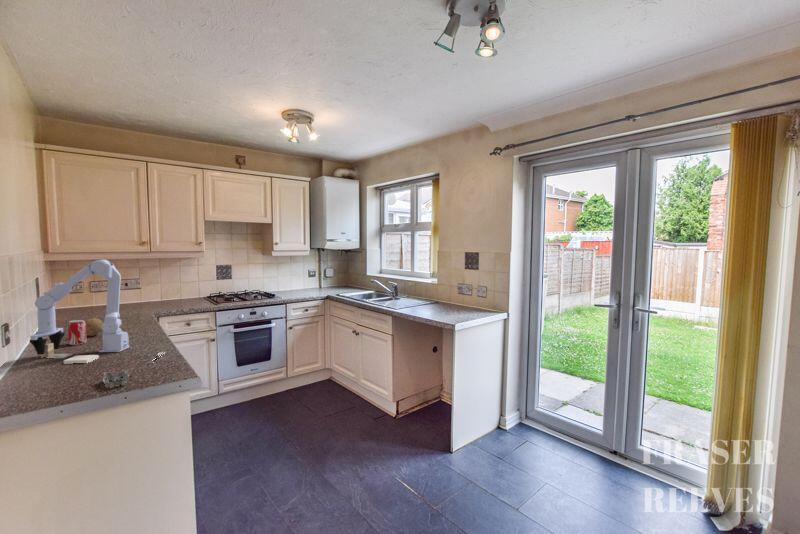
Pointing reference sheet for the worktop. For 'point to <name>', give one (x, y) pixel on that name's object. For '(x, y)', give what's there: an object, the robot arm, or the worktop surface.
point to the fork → (158, 354)
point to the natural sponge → (93, 326)
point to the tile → (81, 359)
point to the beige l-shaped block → (52, 352)
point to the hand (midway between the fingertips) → (48, 351)
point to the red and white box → (77, 332)
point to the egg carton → (116, 378)
